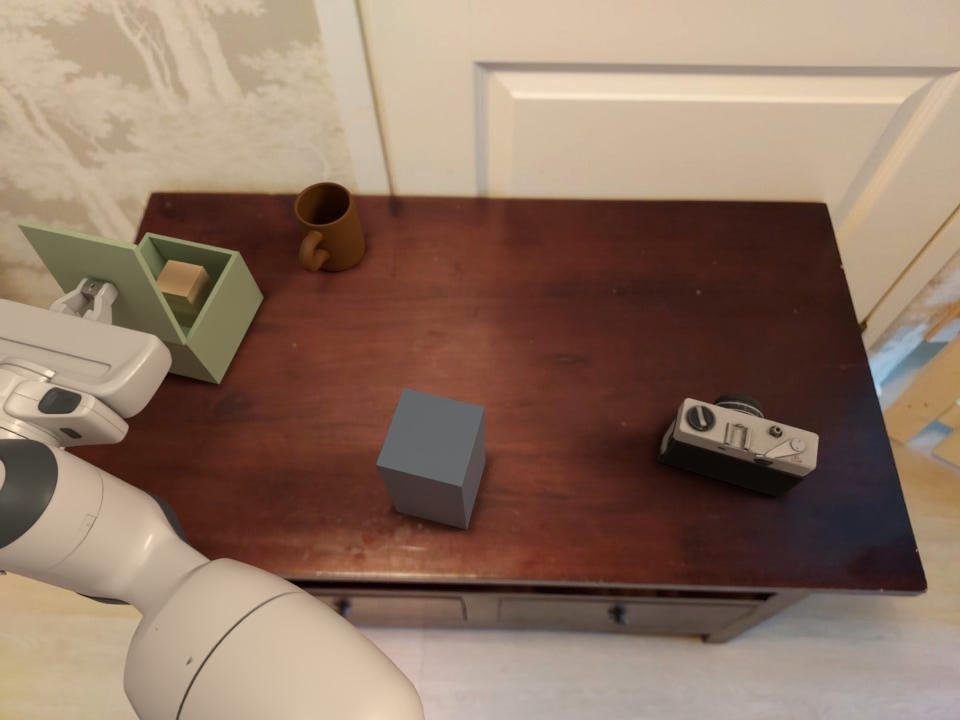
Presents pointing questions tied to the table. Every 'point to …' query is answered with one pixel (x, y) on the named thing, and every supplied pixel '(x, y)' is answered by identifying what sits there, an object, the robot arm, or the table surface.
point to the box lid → (106, 276)
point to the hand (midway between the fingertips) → (102, 283)
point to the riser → (434, 457)
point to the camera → (738, 445)
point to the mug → (328, 228)
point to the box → (208, 305)
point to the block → (185, 290)
